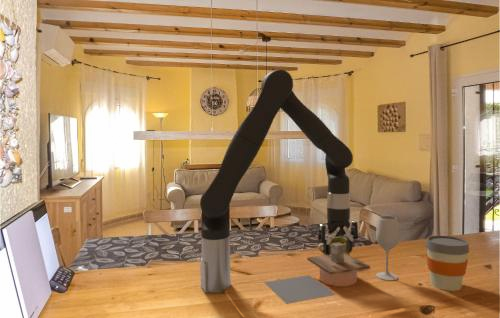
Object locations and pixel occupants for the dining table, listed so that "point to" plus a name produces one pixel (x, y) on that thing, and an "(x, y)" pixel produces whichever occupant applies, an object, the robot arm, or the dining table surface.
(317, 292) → the mat
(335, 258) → the lid
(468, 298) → the dining table surface
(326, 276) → the bowl
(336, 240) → the mug
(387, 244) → the wineglass
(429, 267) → the reusable coffee cup
